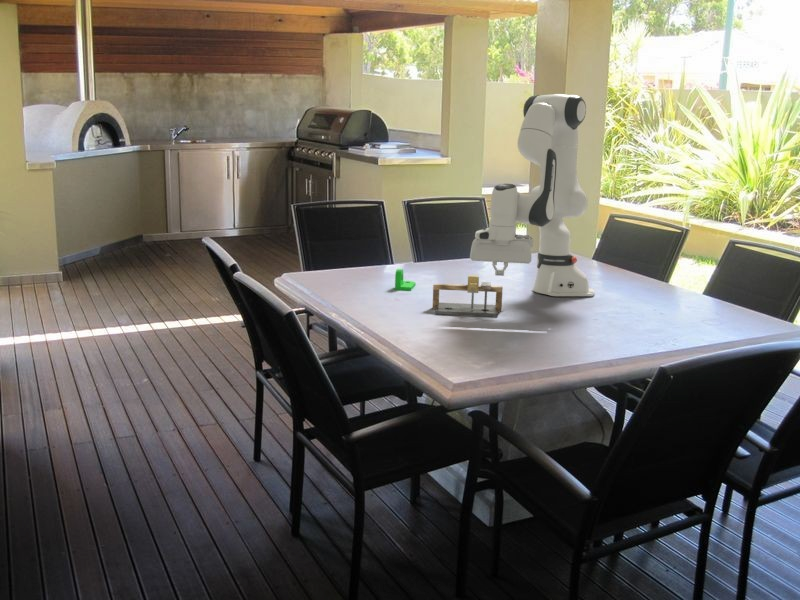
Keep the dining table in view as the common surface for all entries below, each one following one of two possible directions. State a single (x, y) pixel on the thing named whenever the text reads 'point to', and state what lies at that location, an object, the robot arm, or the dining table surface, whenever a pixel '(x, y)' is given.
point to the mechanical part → (402, 282)
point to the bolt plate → (466, 310)
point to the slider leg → (473, 286)
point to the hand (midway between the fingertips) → (499, 275)
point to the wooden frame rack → (483, 287)
